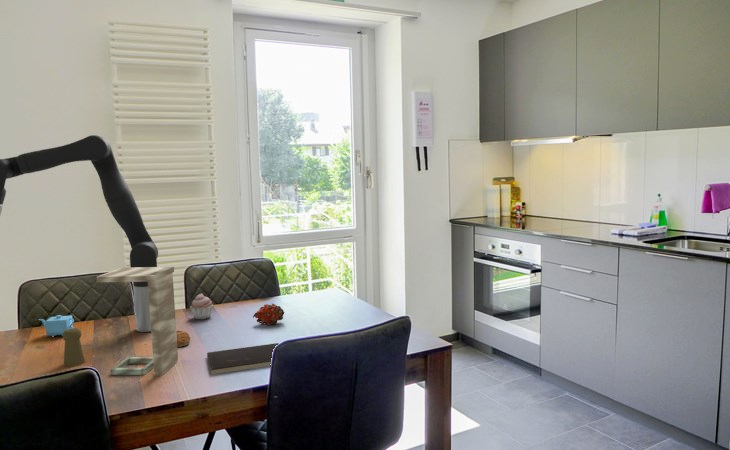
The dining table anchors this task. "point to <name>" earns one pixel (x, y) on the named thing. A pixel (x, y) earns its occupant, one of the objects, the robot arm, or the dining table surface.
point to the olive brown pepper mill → (73, 348)
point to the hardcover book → (240, 358)
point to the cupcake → (201, 307)
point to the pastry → (182, 338)
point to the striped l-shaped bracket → (152, 318)
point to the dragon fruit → (269, 314)
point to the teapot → (57, 325)
